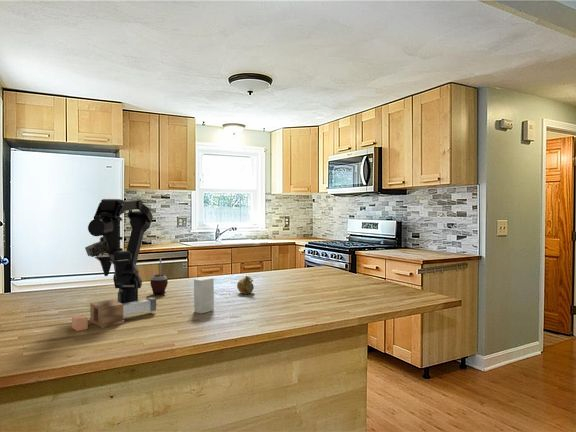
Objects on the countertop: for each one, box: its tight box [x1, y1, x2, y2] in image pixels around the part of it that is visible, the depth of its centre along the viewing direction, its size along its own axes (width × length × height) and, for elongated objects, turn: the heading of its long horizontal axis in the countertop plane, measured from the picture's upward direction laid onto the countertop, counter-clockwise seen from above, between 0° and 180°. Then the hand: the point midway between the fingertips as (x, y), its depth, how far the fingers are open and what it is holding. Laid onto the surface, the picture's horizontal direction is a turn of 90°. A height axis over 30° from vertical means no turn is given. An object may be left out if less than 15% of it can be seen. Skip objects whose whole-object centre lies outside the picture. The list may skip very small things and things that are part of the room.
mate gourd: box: [150, 257, 169, 296], centre depth 175 cm, size 8×8×15 cm
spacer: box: [71, 314, 88, 332], centre depth 126 cm, size 4×4×3 cm
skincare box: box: [193, 276, 215, 314], centre depth 147 cm, size 6×4×12 cm
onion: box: [236, 275, 255, 295], centre depth 177 cm, size 8×8×8 cm
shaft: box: [123, 296, 157, 317], centre depth 138 cm, size 18×3×4 cm, turn 137°
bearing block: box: [89, 299, 125, 329], centre depth 132 cm, size 7×10×6 cm
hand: (111, 277), depth 144 cm, fingers open, 9 cm apart
